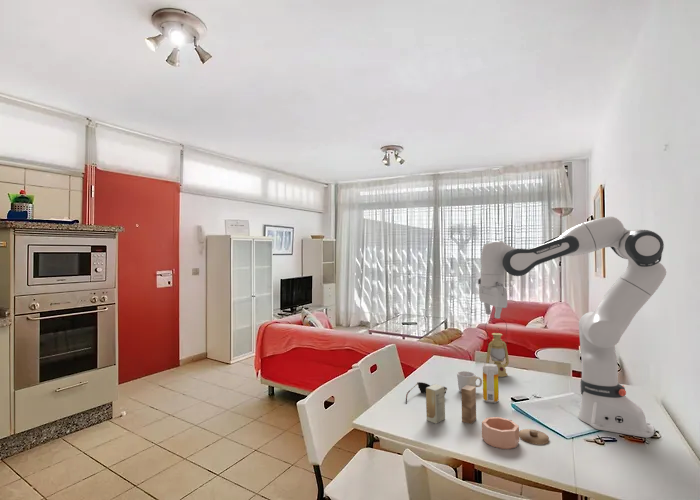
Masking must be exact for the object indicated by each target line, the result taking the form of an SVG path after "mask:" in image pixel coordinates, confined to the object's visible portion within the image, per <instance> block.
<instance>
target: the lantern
mask: <svg viewBox="0 0 700 500" xmlns="http://www.w3.org/2000/svg"><path fill="white" fill-rule="evenodd" d="M494 319H496V318H495V317H493V318H492V319H489V320H488V322H490V321H492V320H494ZM500 320H501V321H503V322H505V325H506V327H505V328H508V326H507V322H506V321H505V319H502V318H500ZM488 322H486V323H485V325H487V323H488ZM485 329H487V326H485ZM497 329H498V330H500V328H498V327H497ZM485 332H486V334H487V337H489V334H488V331H487V330H485ZM507 332H508V329H506V331H505V333H507ZM491 335H492V337H493V338H492V340H491V341H490V342H489V341H488V340H489V339H487V341H486V345H487V346H488V347H487V350H486V351H487V352H486V359H485V360H486V361H485V362H486V363H490V360H491V361H492V362H494V363H493V364H496V365H497V367H498V378H500V377H501V378H502V377H507V376H508V373H507V368H506V367H508V366H509V363H510V357H509V353H508V348H507V346H508V339H507V338H505V339H506V342H507V343H506V342H505V341H503V339H502V336H503V334H502V333H500V332H499V331H498V332H496V331H494V332H492V333H491ZM488 342H489V343H488ZM504 360H505V363H504V364H503V362H504Z"/></svg>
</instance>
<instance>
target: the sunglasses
mask: <svg viewBox="0 0 700 500" xmlns="http://www.w3.org/2000/svg"><path fill="white" fill-rule="evenodd" d="M416 386H418V389H419V391H420V393H422V394H426V388H427V387H429V386H431V385H430V384H429V383H427V382H417V383H416V384H414V386H413V387H411V389H410V390H408V392H406V395H405V405H407V404H408V394H409V393H410V392H411V391H412V390H413V389H414V388H416ZM447 390H448V387H446V386H444V393H445V395H446V394H447Z"/></svg>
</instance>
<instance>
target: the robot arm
mask: <svg viewBox="0 0 700 500" xmlns="http://www.w3.org/2000/svg"><path fill="white" fill-rule="evenodd" d="M664 243H665V242H664V241H663V238H662V237H661V236H660V235H659V234H658V233H657V232H655V231H652V230H648V229H627V228H625V226H624V224H623V223H622V221H621V220H620V219H618V218H617V217H614V216H605V217H604V216H603V217H600V218H596V219H592V220H589V221H585V222H582V223H579V224H577V225H574V226H572V227H571V228H568V229H567V230H565V231H564V232H563V233H561V235H559V236H558V237H556V238H555V239H553V240H551V241H549V242H546V243H542V244H540V245H538V246H537V245H536V246H535V247H531V248H515V247H513V246H511V245H509V244H507V243H505V242H504V241H502V240H496V241H495V240H494V241H489V242H487V243H485V244H484V245H483V247H482V249H481V250H482V251H481V259H480V260H481V261H480V262H481V263H480V264H481V268H482V269H481V272H480V273H481V274H480V275H481V276H480V277H479V278H478V279H477V284H478V285H479V286H478V295H479V297H478V298H479V300H480V302H481V303H483V304H484V305H483V307H484V310H485V311H484V313H485V315H492V310H491V306H492V307H494V309H495V313H494V314H493V315H494V316H493V318H495V319H501V313H502V311H503V309H506V308H508V293H507V289H506V287H505V285H506V284H505V283H506V277H505V276H506V273H507V274H509V275H511V276H514V277H522V276H524V275H527V274H528V273H530V271H532V270H533V269H534V268H535V267H536V266H538V265H540V264H543V263H546V262H549V261H552V260H555V259H557V258H561V257H569V256H570V257H571V256H573V257H574V256H580V255H581V256H582V255H585V254H590V253H592V252H596V251H599V250H601V249H605V248H610V249H612V251H613V252H614V253H615V254H616V255H617V256H619V257H620V258H622V259H625V260H627V264H628V265H627V268H626V269H625V270H624V272H623V273H622V274H621V275H620V276H619V277H618V279H617V280H616V281H615V282H614V283H613V285H612V286H610V287H609V289H608V290H607V292H605V294H604V295H603V298H602V299H601V301H600V303H599V304H598V306H597V307H596V308H595V310H594V311H588V312H586V313H584V314H583V315H582V316H581V317H580V318H579V322H578V334H579V345H580V347H579V348H580V357H581V379H580V386H579V387H580V395H581V397H580V398H581V400H580V405H579V410H578V414H577V418H578V419H579V420H580V421H582V422H584V423H585V424H588V425H590V426H591V427H592V428H593V429H595V430H599V431H605V432H611V433H615V434H617V433H618V434H623V435H629V436H635V437H640V438H645V439H646V438H651V437H653V436H654V435H655V428H654V426H653V425H654V424H652V423H651V422H649V421H647V419H646V415H645V412H644V411H643V409H642V408H641V407H640V405H638V404H636V402H634V401H633V400H631V399H630V398H629V397H627V396H626V395H627V390H626V387H625V385H622V384H620V383H619V377H618V376H619V374H618V373H619V372H618V367H619V366H618V358H617V353H616V347H615V346H616V345H617V344H618V343H620V340H621V337H622V336H623V335H624V333H625V332H626V330H627V329H628V327H629V325H630V324H631V322H632V320H633V319H634V318H635V317H636V314H638V313H639V311H641V309H642V308H643V307H644V306H645V304H646V303H647V302H648V301H649V300H650V299H651V298H652V297H653V295H654V294H655V293H656V292H657V290H658V289H659V288H660V285H662V283H663V281H664V280H665V278H666V275H667V270H666V268H665V266H664V265H663V264H662V263H661V262H662V256H663V252H664V249H665V245H664Z"/></svg>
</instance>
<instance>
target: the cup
mask: <svg viewBox="0 0 700 500" xmlns="http://www.w3.org/2000/svg"><path fill="white" fill-rule="evenodd" d="M456 376H457V377H456V378H457V385H458V390H459V392H461V389H462V388H463V387H464V386H466V385H469V386H474V387H476V388H480V387H482V386H483V378H482V377H481V376H478V375H476V373H474V372H471V371H465V370H463V371H461V370H460V371H457V373H456ZM477 380H479V383H478V384H476V383H477V382H476V381H477Z"/></svg>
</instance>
